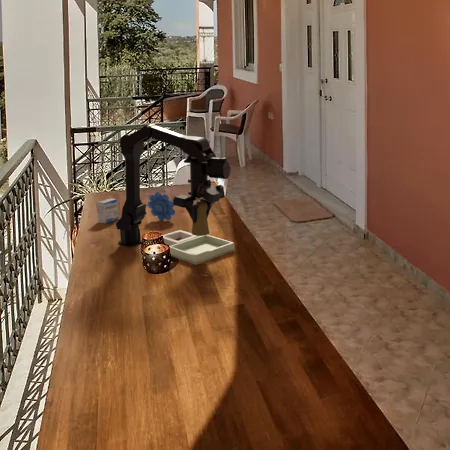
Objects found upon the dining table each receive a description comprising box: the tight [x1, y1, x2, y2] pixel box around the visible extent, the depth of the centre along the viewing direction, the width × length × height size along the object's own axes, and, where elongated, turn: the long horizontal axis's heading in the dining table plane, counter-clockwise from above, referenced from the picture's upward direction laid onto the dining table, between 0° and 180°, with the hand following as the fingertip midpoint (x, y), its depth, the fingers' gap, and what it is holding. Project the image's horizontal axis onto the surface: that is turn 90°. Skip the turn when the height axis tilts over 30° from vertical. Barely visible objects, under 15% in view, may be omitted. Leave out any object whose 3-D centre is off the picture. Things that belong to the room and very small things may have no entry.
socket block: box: [161, 229, 199, 246], centre depth 208 cm, size 10×10×2 cm
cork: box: [191, 200, 210, 236], centre depth 194 cm, size 6×6×11 cm
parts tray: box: [169, 234, 235, 266], centre depth 197 cm, size 18×14×3 cm
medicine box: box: [95, 197, 120, 225], centre depth 235 cm, size 8×4×9 cm, turn 147°
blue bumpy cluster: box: [147, 191, 176, 222], centre depth 233 cm, size 12×7×12 cm, turn 77°
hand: (200, 221), depth 194 cm, fingers closed on cork, 4 cm apart
